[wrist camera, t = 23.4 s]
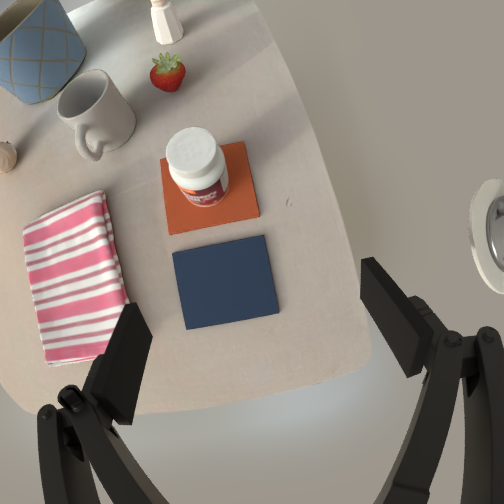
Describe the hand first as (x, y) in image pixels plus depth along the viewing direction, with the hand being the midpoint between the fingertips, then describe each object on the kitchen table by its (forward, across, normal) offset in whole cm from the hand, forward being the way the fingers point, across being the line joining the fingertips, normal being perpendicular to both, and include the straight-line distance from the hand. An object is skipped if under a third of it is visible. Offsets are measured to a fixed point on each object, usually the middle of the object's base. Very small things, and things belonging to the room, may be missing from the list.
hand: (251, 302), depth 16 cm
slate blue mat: (+18, -4, -10) cm, 21 cm away
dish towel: (+20, -26, -6) cm, 33 cm away
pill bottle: (+25, -4, +1) cm, 25 cm away
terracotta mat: (+25, -4, +1) cm, 26 cm away
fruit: (+35, -7, +16) cm, 39 cm away
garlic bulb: (+33, -42, +15) cm, 55 cm away
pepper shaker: (+43, -7, +29) cm, 52 cm away
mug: (+31, -18, +11) cm, 38 cm away
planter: (+44, -34, +32) cm, 64 cm away
